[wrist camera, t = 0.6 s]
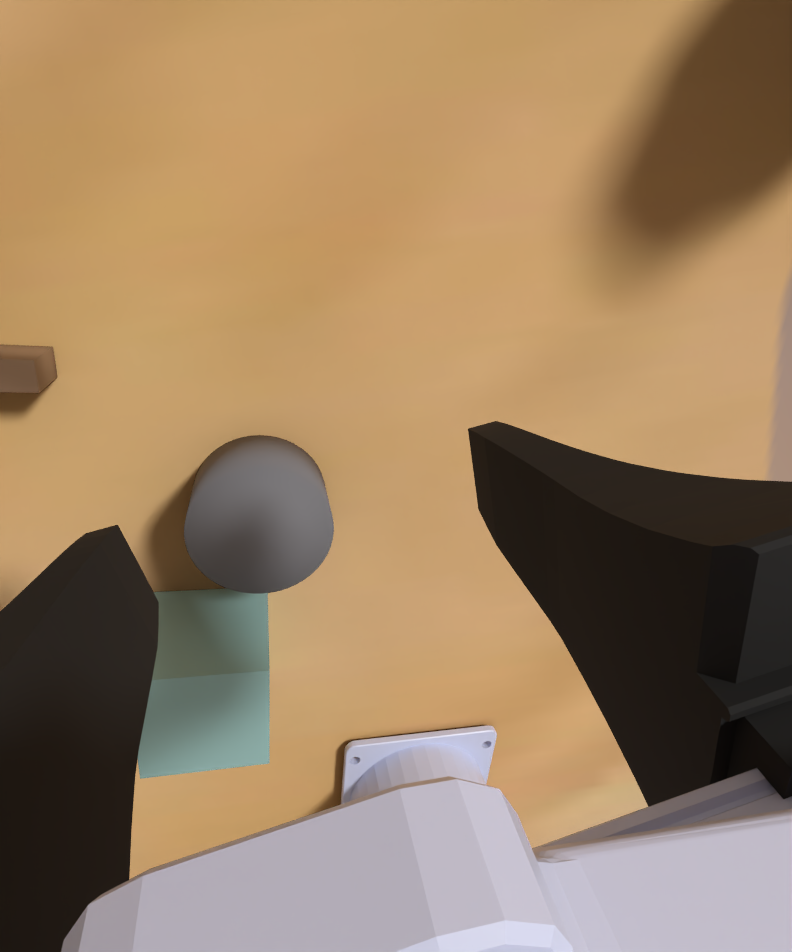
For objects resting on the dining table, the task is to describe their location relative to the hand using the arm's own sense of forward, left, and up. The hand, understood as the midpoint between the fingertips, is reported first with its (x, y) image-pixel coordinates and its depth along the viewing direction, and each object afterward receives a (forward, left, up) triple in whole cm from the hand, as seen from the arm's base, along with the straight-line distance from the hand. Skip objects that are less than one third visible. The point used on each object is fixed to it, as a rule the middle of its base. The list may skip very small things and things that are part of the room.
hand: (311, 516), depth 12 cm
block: (-11, +3, -10) cm, 15 cm away
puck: (-5, +1, -10) cm, 11 cm away
